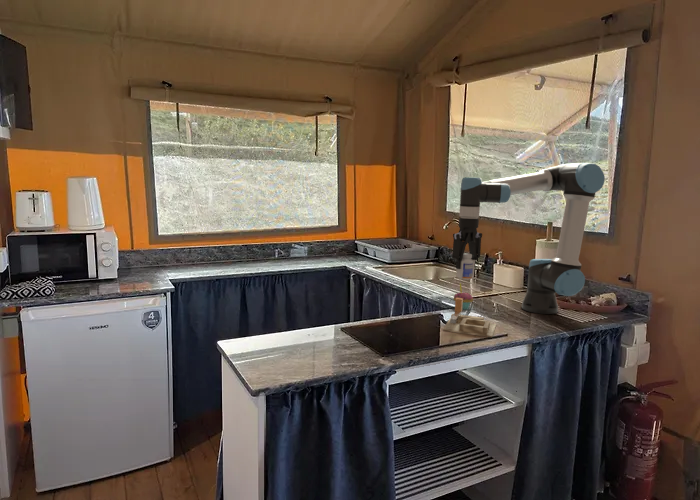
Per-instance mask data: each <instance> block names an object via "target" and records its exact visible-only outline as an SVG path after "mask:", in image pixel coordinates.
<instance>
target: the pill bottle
mask: <svg viewBox="0 0 700 500" xmlns="http://www.w3.org/2000/svg"><path fill="white" fill-rule="evenodd" d="M471 258H472V254H470V253H468V252H467V253H465V252H464V254H463V258H462V261H464V263H463V278H460V277H457V278H458V279H460V280H465V281H467V280H468V281H469V280H472V278H473V276H472V269H473V260H471Z"/></svg>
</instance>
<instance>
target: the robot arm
mask: <svg viewBox="0 0 700 500" xmlns="http://www.w3.org/2000/svg"><path fill="white" fill-rule="evenodd" d="M460 184H461V185H460V198H459V200H460V201H459V215H458V216H459V218H458V228H459V230H458V232H457V233H452V239H453V243H452V245H453V246H452V253H451V259H453V260H454V261H455V262H456V263H455V269H456V271H455V272H456V275H455V277H457V278H458V277H460V278H463V263H464V261H462V258H463V254H464V253H465V251H466V247H467V245H468V251H469V254H472V258H471V260H473V269H472V277H474V276H475V268H476V264H477V263H476V262H477V261H478V260H479V259H480V258H481V251H482V250H481V247H482V238H483V233H481V232H478V230H477V229H478V228H479V223H480V222H479V221H480V219H479V217H480V207H481V203H490V204H491V203H493V204H494V203H496V204H497V203H499V204H501V203H502V204H503V203H504V204H505V203H507V202H508V201H509V200H510V198H511V196H514V195H519V194H526V193H530V192H536V191H544V192H550V191H552V192H553V191H556V192H557V191H559V192H560V191H561V192H563V197H565V199H566V200H565V206H564V212H563V219H562V224H561V228H560V233H559V239H558V243H557V248H556V249H557V250H556V255H555V257H553V258H533V259H530V260H529V264H528V274H527V275H528V277H527V289H526V293H525V295H524V297H523V300H522V302H521V309H522V310H523V311H527V312H529V313H533V314H542V315H554V314H557V313H558V312H559V304H558V300H557V296H556V294H558V295H559V296H564V297H571V296H575V295H577V294H579V293H580V292H581V291H582V290H583V288H584V286H585V284H586V276H585V275H584V272H582V271H581V270H582V263H581V262H580V260H579V258H580V254H581V249H582V243H583V238H584V233H585V227H586V223H587V217H588V212H589V207H590V202H592V201H593V200H594V199H596V198H595V197H596V193H598V192H599V191H600V190H601V189H603V187H604V184H605V174H604V171H603V170H602V168H601V167H600V166H599V165H597V164H596V163H591V162H575V163H572V162H571V163H565V164H564V163H562V164H559V165H555V166H552V167H546V168H543V169H541V170H540V171H538V172H532V173H527V174H519V175H515V176H510V177H509V176H508V177H503V178H496V179H491V180H486V181H485V180H484V181H482V177H474V176H473V177H472V176H471V177H469V176H466V177H463V178H462V179H461V183H460Z"/></svg>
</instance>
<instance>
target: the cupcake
mask: <svg viewBox="0 0 700 500" xmlns="http://www.w3.org/2000/svg"><path fill="white" fill-rule="evenodd" d="M462 289H463V288H462V283H461V282H459V292H457V293H455V294H454V295H453V301H454V302H455V299H456V298H463V304H462V311H463V310H468V309H469V307H470V304H471V303H473V302H474V297H473V296H472V294H470V293H469V292H463V290H462Z"/></svg>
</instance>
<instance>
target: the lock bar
mask: <svg viewBox="0 0 700 500" xmlns="http://www.w3.org/2000/svg"><path fill="white" fill-rule="evenodd" d="M454 303H455V304H454V312H453V313H452V314H453V316H452V317H451V316H450V318H451V319H450V318H449V319H450V323H455V324H456V322H457V320H458V319H459V317H460V315H462V311H463V309H462V304H463V298H456V299H455V301H454Z"/></svg>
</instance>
